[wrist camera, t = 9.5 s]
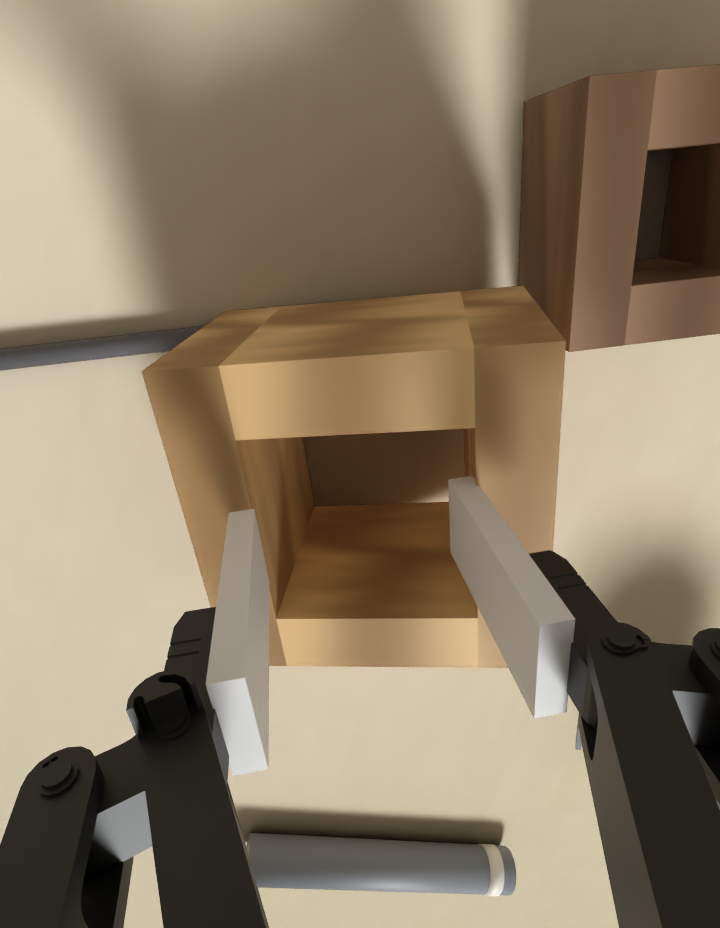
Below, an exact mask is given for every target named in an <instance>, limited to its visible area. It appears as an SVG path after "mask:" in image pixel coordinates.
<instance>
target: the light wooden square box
mask: <svg viewBox="0 0 720 928" xmlns="http://www.w3.org/2000/svg"><path fill="white" fill-rule="evenodd" d="M565 347H566V341H565V339H564V338H563V337H562V335H561V334H560V333H559V331H558V330H557V329H556V328H555V326H554V325H553V324H552V322H551V321H550V320H549V319H548V317H547V316H546V315H545V313H544V312H543V311H542V309H541V308H540V307H539V306H538V304H537V303H536V302H535V300H534V299H533V298H532V297H531V295H530V294H529V293H528V291H527V290H526V289H525V287H524V286H514V287H502V288H490V289H479V290H467V291H455V292H444V293H432V294H421V295H409V296H397V297H386V298H374V299H362V300H351V301H339V302H328V303H316V304H304V305H293V306H281V307H269V308H258V309H246V310H235V311H228V312H224V313H222V314H221V315H220V316H218V317H217V318H215V319H214V320H213V321H211V322H210V323H208V324H207V325H206V326H204V327H203V328H201V329H200V330H199V331H197V332H196V333H194V334H193V335H192V336H190V337H189V338H187V339H186V340H185V341H183V342H182V343H180V344H179V345H178V346H176V347H175V348H174V349H172V350H171V351H169V352H168V353H167V354H165V355H164V356H162V357H161V358H160V359H158V360H157V361H155V362H154V363H153V364H151V365H150V366H148V367H147V368H146V369H144V370H143V371H142V374H143V378H144V381H145V384H146V388H147V391H148V395H149V398H150V402H151V405H152V408H153V412H154V415H155V419H156V422H157V425H158V429H159V432H160V436H161V439H162V442H163V446H164V449H165V453H166V456H167V459H168V463H169V466H170V470H171V473H172V477H173V480H174V483H175V487H176V490H177V494H178V497H179V500H180V504H181V507H182V511H183V514H184V517H185V521H186V524H187V528H188V531H189V534H190V538H191V541H192V545H193V548H194V552H195V555H196V558H197V562H198V565H199V569H200V572H201V575H202V579H203V582H204V586H205V589H206V592H207V596H208V599H209V603H210V606H211V608H212V607H216V604H217V596H218V589H219V581H220V574H221V566H222V559H223V552H224V544H225V537H226V529H227V522H228V514H229V512H236V511H243V510H249V509H254V510H255V515H256V519H257V524H258V529H259V534H260V539H261V544H262V548H263V553H264V558H265V563H266V568H267V572H268V577H269V666H357V667H467V668H508V666H507V664H506V662H505V660H504V658H503V656H502V654H501V652H500V650H499V648H498V646H497V644H496V642H495V640H494V638H493V636H492V634H491V632H490V630H489V628H488V626H487V624H486V622H485V620H484V618H483V616H482V614H481V612H480V610H479V608H478V606H477V604H476V602H475V600H474V598H473V596H472V594H471V592H470V590H469V588H468V586H467V584H466V582H465V580H464V578H463V576H462V574H461V572H460V570H459V568H458V566H457V564H456V562H455V560H454V558H453V556H452V554H451V552H450V518H449V502H432V503H401V504H371V505H340V506H314V502H313V496H312V490H311V484H310V478H309V472H308V466H307V460H306V454H305V448H304V442H303V437H311V436H330V435H350V434H369V433H389V432H408V431H428V430H447V429H464V466H465V477H466V476H473V477H474V479H475V483H476V486H480V487H481V488H482V490H483V491H484V492H485V494H486V495H487V497H488V498H489V499H490V501H491V502H492V504H493V505H494V506H495V508H496V509H497V511H498V512H499V513H500V515H501V516H502V518H503V519H504V520H505V522H506V523H507V525H508V526H509V527H510V529H511V530H512V532H513V533H514V534H515V536H516V537H517V538H518V540H519V541H520V543H521V544H522V545H523V547H524V548H525V550H526V551H527V552H528V554H529V553H535V552H541V551H547V550H551V551H553V541H554V524H555V508H556V492H557V476H558V460H559V444H560V428H561V411H562V395H563V379H564V363H565Z"/></svg>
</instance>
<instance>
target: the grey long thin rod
mask: <svg viewBox="0 0 720 928" xmlns="http://www.w3.org/2000/svg"><path fill="white" fill-rule="evenodd" d="M203 327H204V326H199V327H191V328H182V329H173V330H164V331H155V332H147V333H138V334H129V335H120V336H112V337H103V338H94V339H85V340H76V341H68V342H59V343H50V344H41V345H32V346H24V347H15V348H6V349H0V370H9V369H18V368H26V367H35V366H43V365H52V364H61V363H69V362H78V361H86V360H95V359H104V358H112V357H121V356H130V355H138V354H147V353H155V352H164V351H171V350H172V349H174V348H175V347H176V346H178V345H179V344H180V343H182V342H183V341H185V340H186V339H187V338H189V337H190V336H192V335H193V334H194V333H196V332H197V331H199V330H200V329H201V328H203Z"/></svg>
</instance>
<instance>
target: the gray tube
mask: <svg viewBox="0 0 720 928" xmlns="http://www.w3.org/2000/svg"><path fill="white" fill-rule="evenodd" d="M246 849H247V852H248V856H249V859H250V863H251V866H252V870H253V873H254V877H255V880H256V884H257V887H263V888H294V889H324V890H355V891H386V892H417V893H448V894H478V895H482V896H499V895H511V894H512V893H513V892H514V889H515V885H516V868H515V863H514V859H513V856H512V854H511V852H510V850H509V849H508V848H507V847H506V846H495V845H493V844H477V845H475V844H456V843H437V842H418V841H398V840H379V839H360V838H341V837H322V836H303V835H284V834H265V833H250V834H249V838H248V842H247V847H246Z"/></svg>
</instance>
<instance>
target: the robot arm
mask: <svg viewBox="0 0 720 928" xmlns="http://www.w3.org/2000/svg"><path fill="white" fill-rule="evenodd" d="M448 483H449V518H450V552H451V554H452V556H453V558H454V560H455V562H456V564H457V566H458V568H459V570H460V572H461V574H462V576H463V578H464V580H465V582H466V584H467V586H468V588H469V590H470V592H471V594H472V596H473V598H474V600H475V602H476V604H477V606H478V608H479V610H480V612H481V614H482V616H483V618H484V620H485V622H486V624H487V626H488V628H489V630H490V632H491V634H492V636H493V638H494V640H495V642H496V644H497V646H498V648H499V650H500V652H501V654H502V656H503V658H504V660H505V662H506V664H507V666H508V668H509V670H510V672H511V674H512V675H513V677H514V679H515V681H516V683H517V685H518V687H519V689H520V691H521V693H522V695H523V697H524V699H525V701H526V703H527V705H528V707H529V709H530V711H531V713H532V715H533V717H534V718H540V717H545V716H550V715H555V714H560V713H565V712H566V711H567V701H568V694H569V696H570V698H571V699H572V701H573V703H574V705H575V706H576V708H577V710H578V711H579V717H578V726H577V735H576V749H577V750H581V744H582V747H583V752H584V757H585V762H586V767H587V772H588V777H589V782H590V787H591V791H592V796H593V801H594V806H595V811H596V816H597V821H598V826H599V831H600V836H601V840H602V845H603V850H604V855H605V860H606V865H607V870H608V875H609V880H610V885H611V889H612V894H613V899H614V904H615V909H616V914H617V919H618V924H619V928H720V809H719V806H718V804H717V802H718V803H719V805H720V628H709V629H706V630H702V631H699V632H698V633H697V634H696V635H695V637H694V638H693V642H692V646H689V645H675V644H662V643H655V642H652V641H651V640H650V638H649V637H648V636H647V635H646V634H645V633H643V632H642V631H641V630H639V629H638V628H635V627H633V626H630V625H628V624H625V623H619V622H617V621H616V620H615V619H614V618H613V616H612V615H611V614H610V613H609V611H608V610H607V609H606V608H605V606H604V605H603V604H602V603H601V602H600V600H599V599H598V598H597V597H596V595H595V594H594V593H593V592H592V590H591V589H590V588H589V587H588V586H586V583H585V582H584V581H583V579H582V578H581V577H580V576H579V575H577V572H576V571H575V569H574V568H573V567H572V566H571V564H570V563H569V562H568V561H567V560H566V559H564V558H563V557H561V556H559V555H558V554H556V553H555V552H553V551H551V550H547V551H541V552H535V553H529V554H528V552H527V551H526V550H525V548H524V547H523V545H522V544H521V543H520V541H519V540H518V538H517V537H516V536H515V534H514V533H513V532H512V530H511V529H510V527H509V526H508V525H507V523H506V522H505V520H504V519H503V518H502V516H501V515H500V513H499V512H498V511H497V509H496V508H495V506H494V505H493V504H492V502H491V501H490V499H489V498H488V497H487V495H486V494H485V492H484V491H483V490H482V488H481V487H480V486H476V483H475V479H474V477H473V476H466V477H459V478H453V479H448ZM170 644H171V646H170V647H169V651H168V656H167V657H168V660H166V665H165V669H164V671H163V672H159V673H156V674H154V675H153V676H151V677H149V678H147V679H145V680H144V681H143V682H142V683H141V684H139V685H138V686H137V687H136V688H135V689H134V691H133V692H132V694H131V695H130V697H129V699H128V703H127V709H126V711H127V713H128V716H129V718H130V721H131V723H132V726H133V728H134V731H135V733H136V735H135V736H134V737H133V738H131V739H130V740H128V741H126V742H125V743H123V744H121V745H119V746H117V747H115V748H112V749H110V750H108V751H106V752H104V753H101V754H99V755H97V756H94V755H93V753H92V752H91V750H89V749H86V748H83V747H68V748H65V749H62V750H60V751H57V752H54V753H52V754H51V755H49V756H48V757H46V758H45V759H43V760H42V761H40V762H39V763H38V764H37V765H36V766H35V767H34V768H33V769H32V771H31V772H30V773H29V774H28V775H27V777H26V779H25V781H24V782H23V784H22V786H21V788H20V791H19V794H18V796H17V799H16V802H15V805H14V808H13V811H12V813H11V816H10V819H9V822H8V825H7V827H6V830H5V833H4V836H3V839H2V842H1V844H0V928H123V926H124V919H125V912H126V905H127V898H128V891H129V885H130V878H131V871H132V864H133V857H134V856H135V855H137V854H139V853H140V852H142V851H144V850H146V849H148V848H150V847H152V846H153V853H154V860H155V867H156V875H157V882H158V889H159V897H160V904H161V911H162V919H163V926H164V928H269V926H268V923H267V919H266V916H265V912H264V909H263V905H262V902H261V898H260V894H259V891H258V887H257V884H256V880H255V877H254V873H253V870H252V866H251V863H250V859H249V856H248V852H247V849H246V845H245V842H244V838H243V835H242V831H241V828H240V824H239V820H238V817H237V813H236V810H235V806H234V803H233V799H232V796H231V792H230V789H229V786H228V783H227V779H228V765H229V764H230V768H231V771H232V774H233V776H236V775H241V774H246V773H252V772H257V771H262V770H267V769H268V741H269V577H268V572H267V568H266V563H265V558H264V553H263V548H262V544H261V539H260V534H259V529H258V524H257V519H256V515H255V510H254V509H249V510H243V511H236V512H229V514H228V522H227V529H226V537H225V544H224V552H223V559H222V566H221V574H220V581H219V589H218V596H217V604H216V607H212V608H206V609H200V610H194V611H188V612H185V613H184V614H183V616H182V617H181V618H180V620H179V621H178V622H177V624H176V625H175V627H174V629H173V634H172V638H171V642H170ZM716 800H717V801H716Z"/></svg>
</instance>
